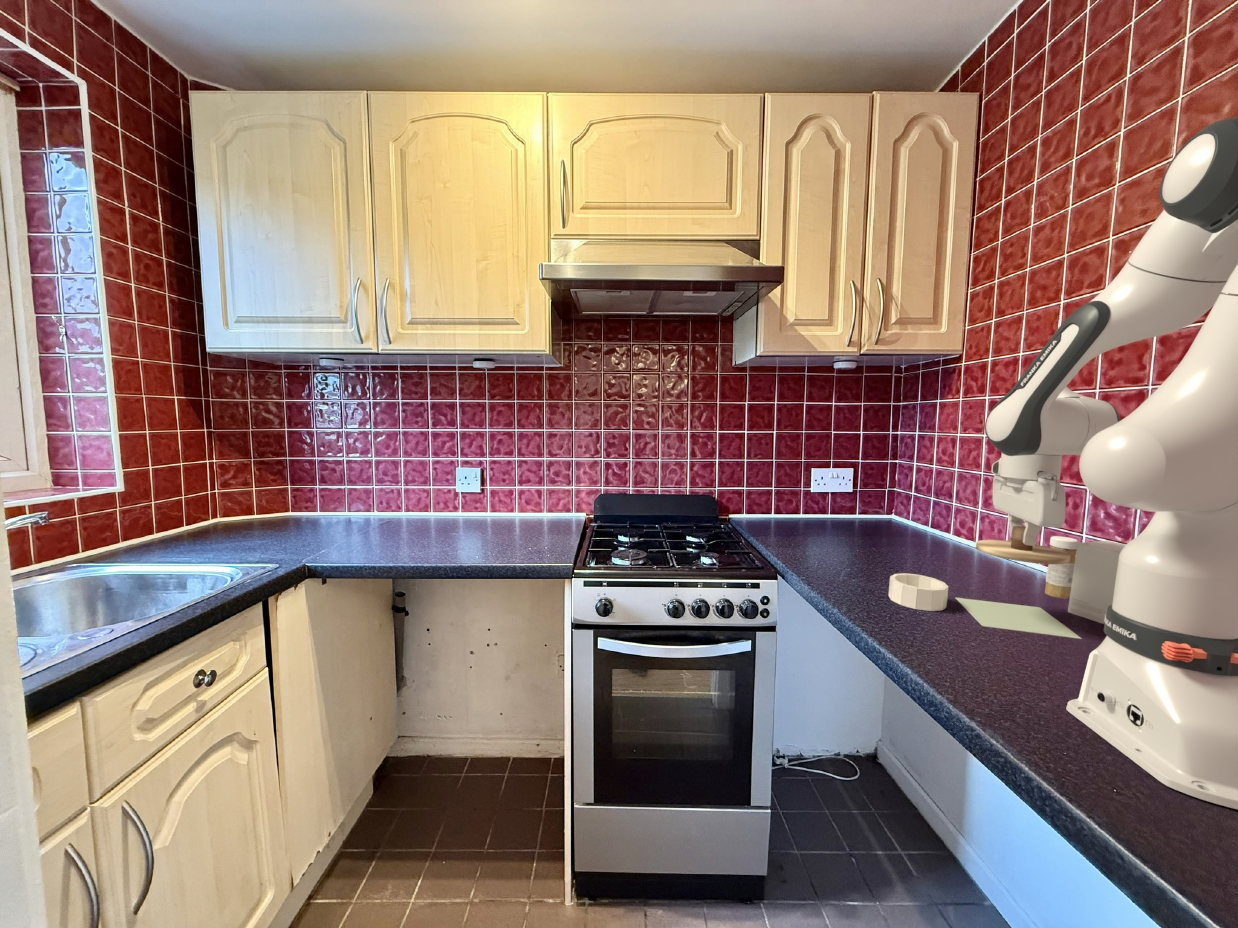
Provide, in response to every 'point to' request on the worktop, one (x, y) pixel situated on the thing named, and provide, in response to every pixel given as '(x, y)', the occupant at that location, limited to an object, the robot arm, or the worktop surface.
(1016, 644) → the worktop surface
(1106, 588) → the supplement box
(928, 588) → the bowl
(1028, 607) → the mat
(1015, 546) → the lid
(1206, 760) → the robot arm
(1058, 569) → the sprinkles bottle
